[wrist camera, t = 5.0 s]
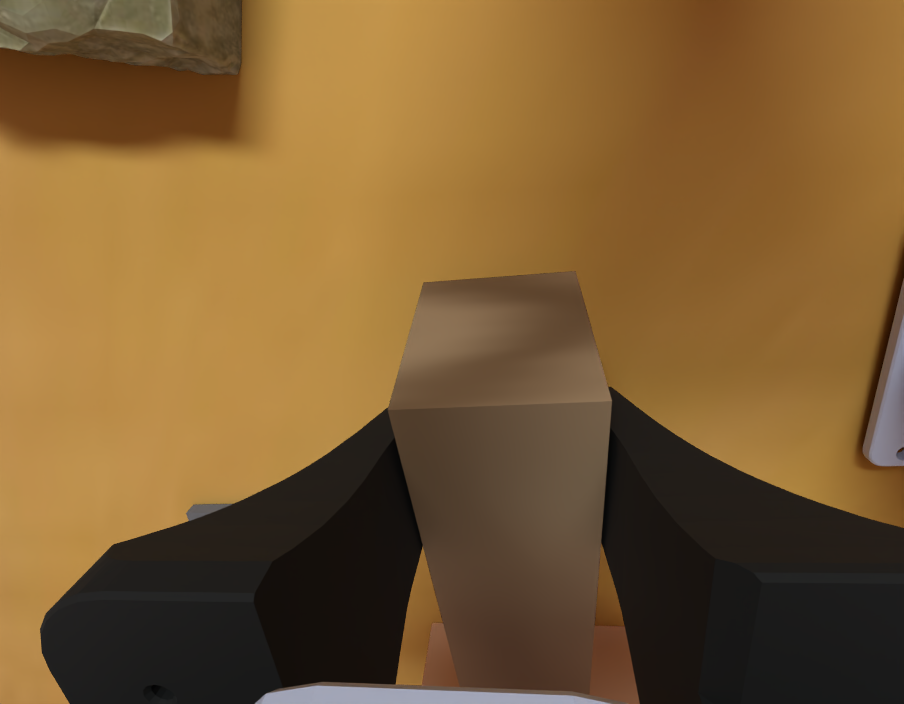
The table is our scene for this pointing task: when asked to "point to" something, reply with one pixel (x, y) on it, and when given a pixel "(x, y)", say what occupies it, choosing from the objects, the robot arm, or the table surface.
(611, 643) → the tile
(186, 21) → the decorative tile
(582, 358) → the brown wooden plank
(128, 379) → the table surface
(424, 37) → the table surface
